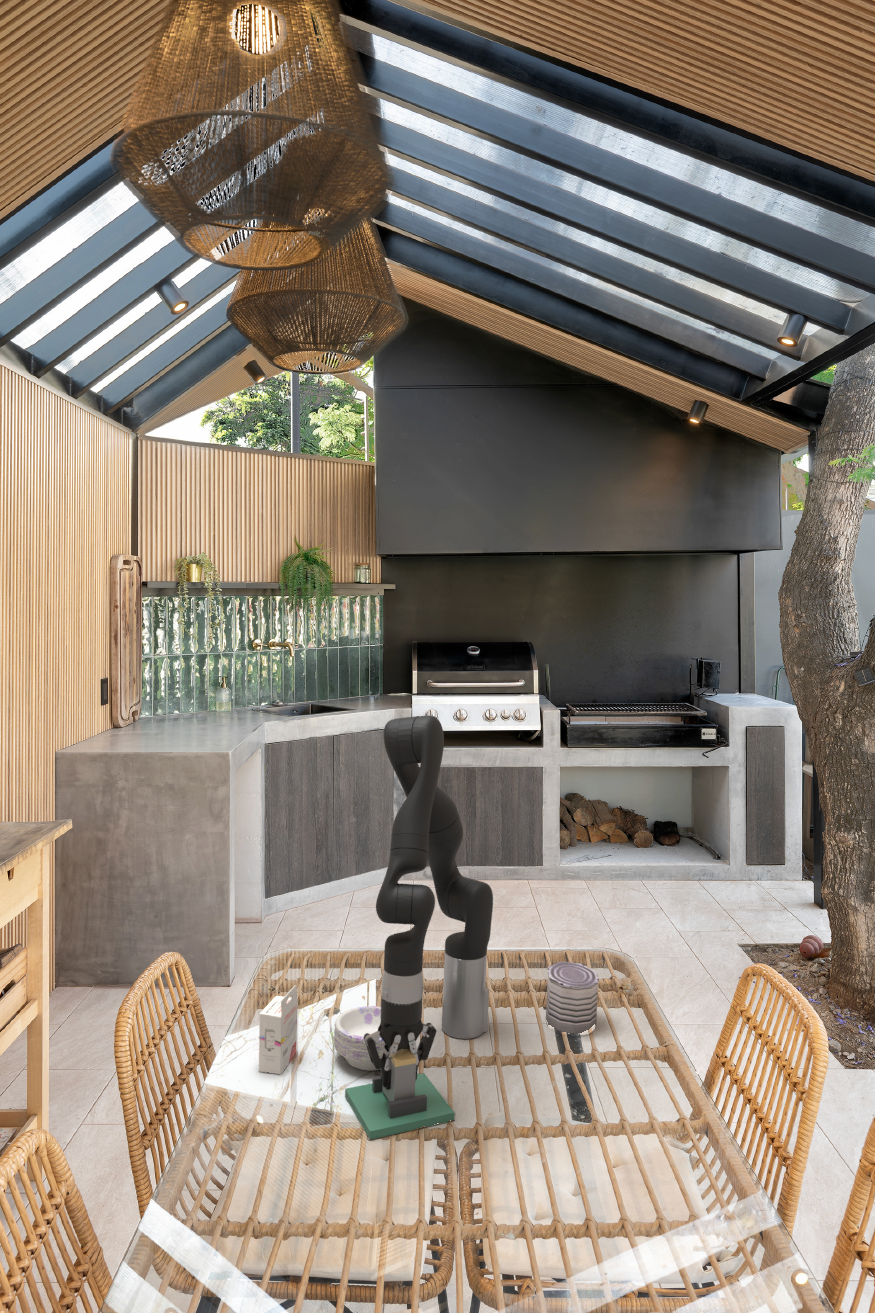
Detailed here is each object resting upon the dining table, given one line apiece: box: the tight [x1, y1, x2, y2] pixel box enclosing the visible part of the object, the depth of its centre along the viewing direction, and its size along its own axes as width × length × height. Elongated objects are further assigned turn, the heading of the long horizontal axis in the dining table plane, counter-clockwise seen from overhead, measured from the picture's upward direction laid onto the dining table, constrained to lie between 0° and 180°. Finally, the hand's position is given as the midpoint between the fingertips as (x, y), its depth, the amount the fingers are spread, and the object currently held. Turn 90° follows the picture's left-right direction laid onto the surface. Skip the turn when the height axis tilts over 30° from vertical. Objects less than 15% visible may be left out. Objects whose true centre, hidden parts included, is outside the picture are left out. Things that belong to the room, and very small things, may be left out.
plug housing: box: [382, 1049, 416, 1102], centre depth 154 cm, size 4×6×8 cm, turn 24°
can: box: [545, 960, 600, 1034], centre depth 189 cm, size 11×11×12 cm
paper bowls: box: [333, 1005, 384, 1072], centre depth 171 cm, size 15×15×8 cm
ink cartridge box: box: [258, 984, 299, 1075], centre depth 168 cm, size 9×5×15 cm, turn 168°
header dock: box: [344, 1072, 455, 1141], centre depth 155 cm, size 16×14×4 cm
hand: (398, 1084), depth 155 cm, fingers closed on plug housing, 4 cm apart
